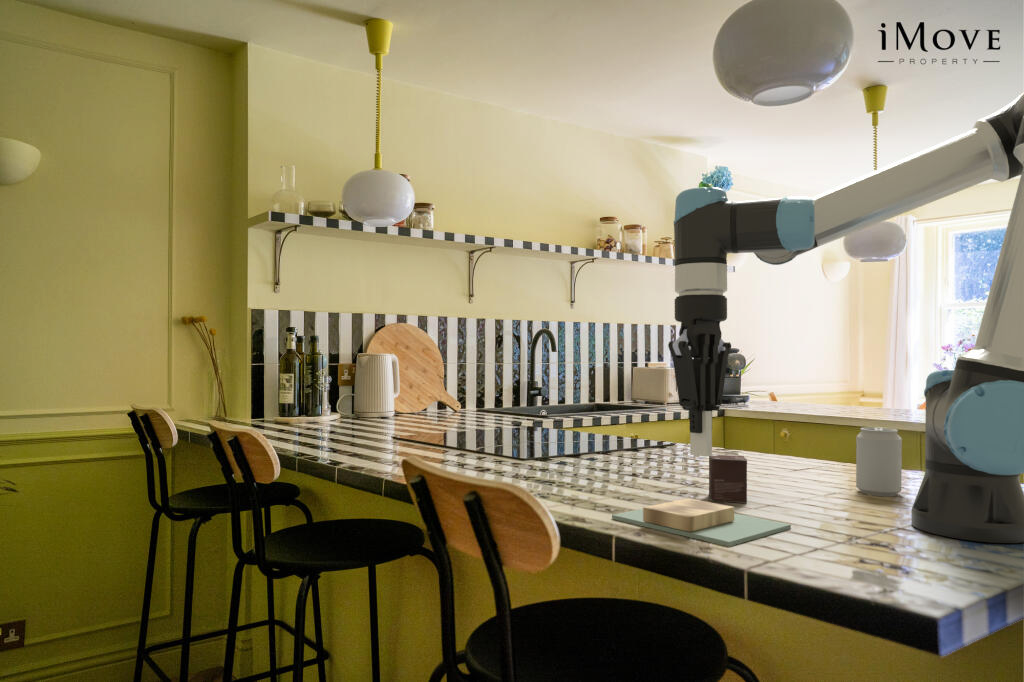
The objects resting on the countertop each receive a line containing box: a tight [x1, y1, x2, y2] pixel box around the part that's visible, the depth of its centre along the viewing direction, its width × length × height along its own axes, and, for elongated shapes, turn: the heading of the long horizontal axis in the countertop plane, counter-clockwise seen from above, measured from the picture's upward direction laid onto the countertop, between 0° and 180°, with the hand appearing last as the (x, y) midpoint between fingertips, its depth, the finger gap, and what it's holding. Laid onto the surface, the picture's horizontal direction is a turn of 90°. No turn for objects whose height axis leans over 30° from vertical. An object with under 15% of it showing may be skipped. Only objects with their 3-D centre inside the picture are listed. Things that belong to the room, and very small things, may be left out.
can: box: [855, 426, 903, 497], centre depth 135 cm, size 8×8×12 cm
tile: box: [642, 497, 735, 532], centre depth 106 cm, size 8×2×11 cm
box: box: [708, 454, 748, 504], centre depth 127 cm, size 6×6×7 cm
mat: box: [611, 508, 792, 547], centre depth 108 cm, size 20×16×1 cm
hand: (701, 455), depth 107 cm, fingers closed
